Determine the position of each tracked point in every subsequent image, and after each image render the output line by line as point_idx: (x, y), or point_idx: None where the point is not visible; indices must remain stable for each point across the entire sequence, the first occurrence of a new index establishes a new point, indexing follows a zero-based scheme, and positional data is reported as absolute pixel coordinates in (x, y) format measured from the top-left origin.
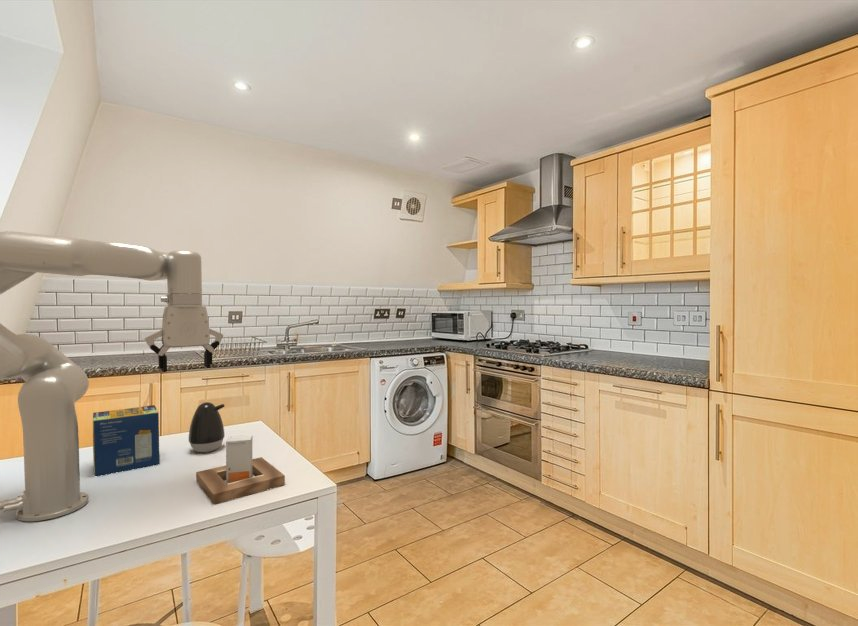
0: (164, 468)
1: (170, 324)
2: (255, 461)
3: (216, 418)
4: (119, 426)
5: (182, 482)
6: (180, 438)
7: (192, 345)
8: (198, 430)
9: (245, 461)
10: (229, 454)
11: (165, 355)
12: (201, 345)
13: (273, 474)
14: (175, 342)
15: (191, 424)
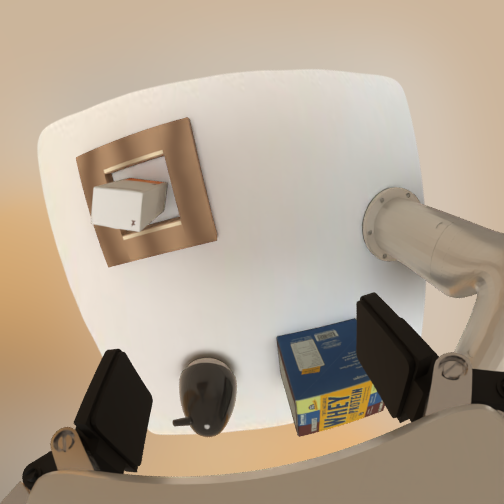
0: (269, 317)
1: None
2: (116, 249)
3: (187, 400)
4: (353, 371)
5: (239, 242)
6: (250, 417)
7: (183, 483)
8: (219, 383)
9: (122, 182)
10: (145, 187)
11: (401, 399)
12: (95, 472)
13: (90, 168)
14: (429, 472)
15: (232, 400)
